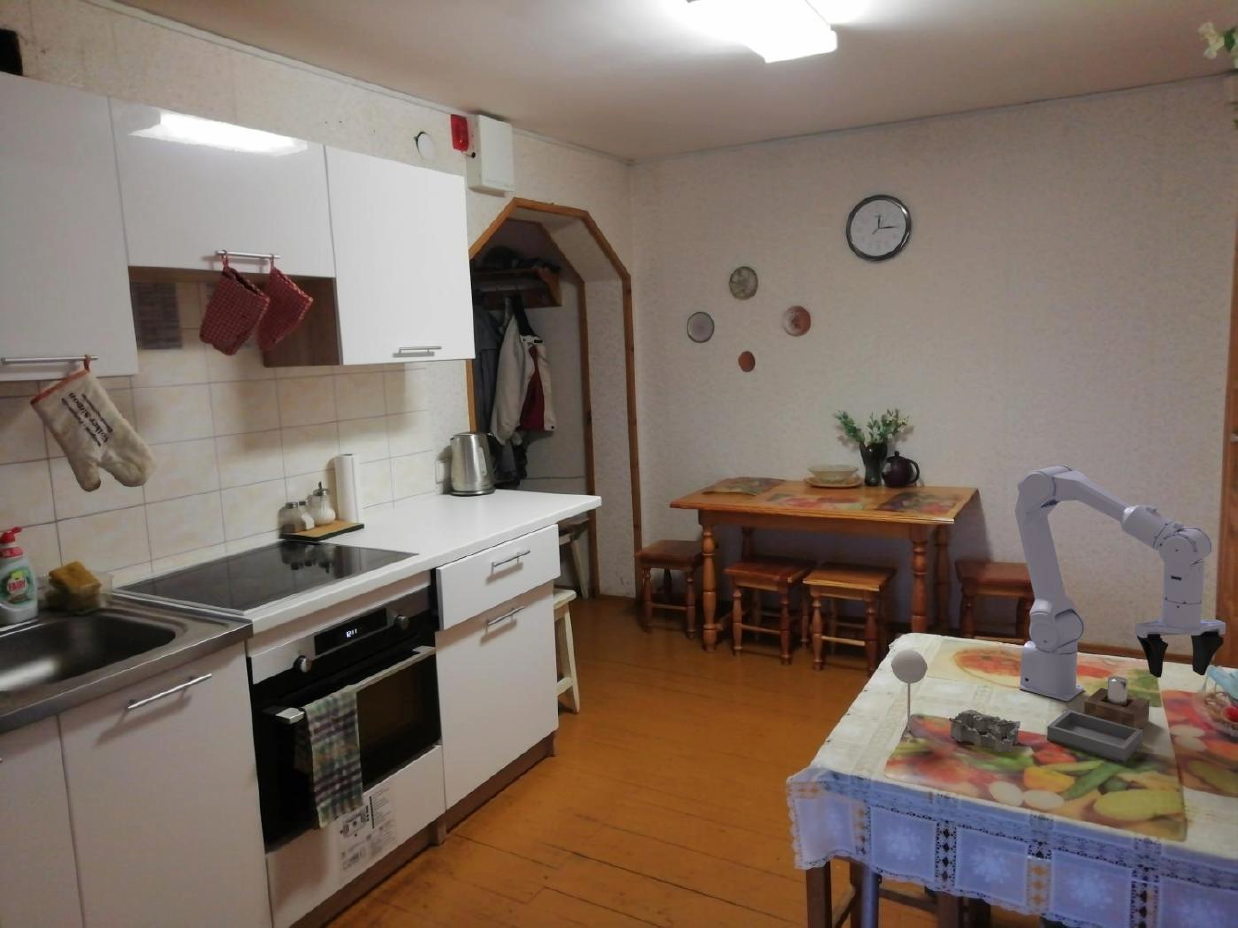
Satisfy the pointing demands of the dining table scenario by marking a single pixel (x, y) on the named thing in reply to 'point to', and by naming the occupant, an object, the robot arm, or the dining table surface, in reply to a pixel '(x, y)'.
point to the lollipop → (909, 671)
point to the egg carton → (982, 724)
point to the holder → (1118, 709)
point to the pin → (1117, 691)
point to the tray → (1095, 735)
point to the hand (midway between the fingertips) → (1177, 674)
